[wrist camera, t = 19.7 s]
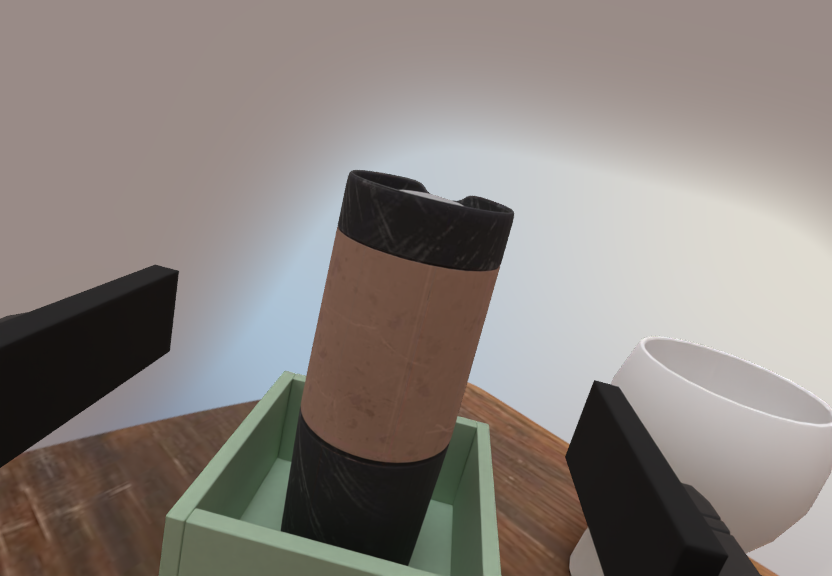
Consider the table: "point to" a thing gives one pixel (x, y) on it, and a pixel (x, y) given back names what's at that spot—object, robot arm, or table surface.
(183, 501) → the bin
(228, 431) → the table surface
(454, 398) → the travel mug
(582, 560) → the cup
